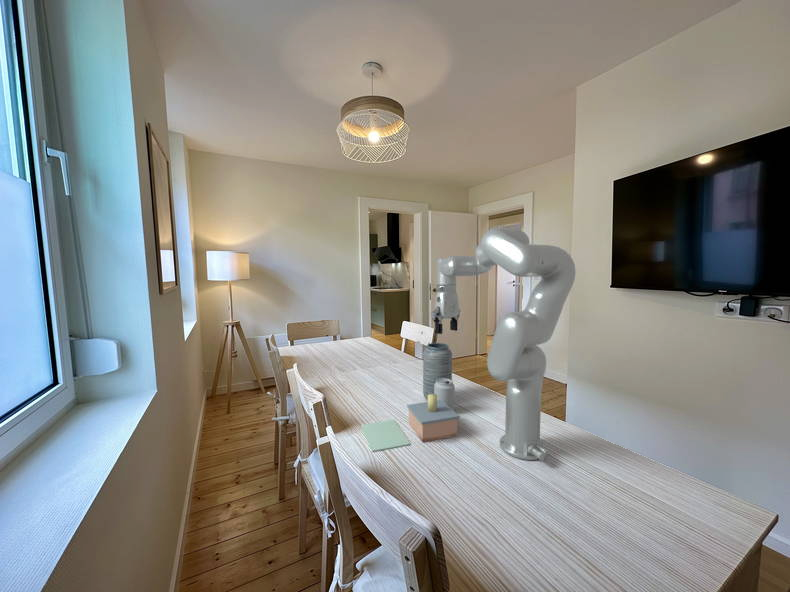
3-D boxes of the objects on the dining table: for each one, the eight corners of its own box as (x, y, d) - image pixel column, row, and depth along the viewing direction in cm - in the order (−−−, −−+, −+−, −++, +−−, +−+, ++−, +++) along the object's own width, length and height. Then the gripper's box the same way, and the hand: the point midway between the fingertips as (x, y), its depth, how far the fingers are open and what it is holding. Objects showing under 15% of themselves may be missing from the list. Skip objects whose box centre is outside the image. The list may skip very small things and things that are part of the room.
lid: (459, 418, 98) (459, 400, 97) (421, 424, 94) (421, 406, 93) (441, 402, 110) (441, 386, 110) (407, 407, 106) (407, 390, 106)
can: (454, 417, 111) (454, 384, 111) (433, 415, 113) (433, 383, 112) (454, 408, 119) (454, 377, 118) (434, 406, 120) (435, 376, 119)
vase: (450, 395, 131) (451, 342, 129) (452, 407, 120) (453, 349, 118) (423, 394, 132) (423, 341, 131) (423, 405, 121) (423, 348, 119)
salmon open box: (457, 436, 99) (457, 418, 98) (422, 442, 95) (422, 423, 94) (440, 419, 110) (440, 402, 109) (409, 424, 106) (409, 407, 106)
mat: (410, 444, 94) (410, 443, 94) (372, 452, 90) (372, 450, 90) (394, 420, 109) (394, 419, 109) (361, 426, 105) (361, 424, 105)
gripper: (440, 290, 113) (440, 336, 114) (467, 288, 125) (466, 330, 126) (424, 289, 119) (424, 333, 120) (452, 288, 130) (451, 328, 131)
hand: (446, 331), depth 123 cm, fingers open, 9 cm apart
